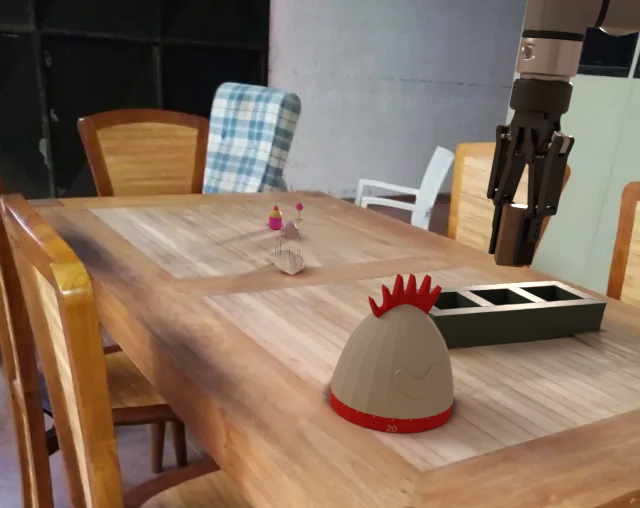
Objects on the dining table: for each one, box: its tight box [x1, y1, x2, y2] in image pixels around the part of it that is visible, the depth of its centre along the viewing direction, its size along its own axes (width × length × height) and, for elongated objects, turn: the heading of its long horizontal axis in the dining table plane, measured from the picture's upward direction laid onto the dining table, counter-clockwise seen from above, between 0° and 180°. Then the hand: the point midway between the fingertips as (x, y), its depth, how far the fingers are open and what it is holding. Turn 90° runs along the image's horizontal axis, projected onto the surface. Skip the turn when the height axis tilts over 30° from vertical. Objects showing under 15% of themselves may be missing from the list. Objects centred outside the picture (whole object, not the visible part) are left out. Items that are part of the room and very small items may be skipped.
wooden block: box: [493, 203, 527, 269], centre depth 100 cm, size 4×4×8 cm
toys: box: [268, 199, 304, 241], centre depth 154 cm, size 18×8×6 cm, turn 6°
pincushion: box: [268, 237, 305, 276], centre depth 126 cm, size 12×6×6 cm, turn 11°
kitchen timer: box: [328, 273, 455, 434], centre depth 77 cm, size 14×14×15 cm
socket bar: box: [404, 280, 608, 350], centre depth 105 cm, size 11×30×5 cm, turn 113°
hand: (509, 258), depth 101 cm, fingers closed on wooden block, 5 cm apart
